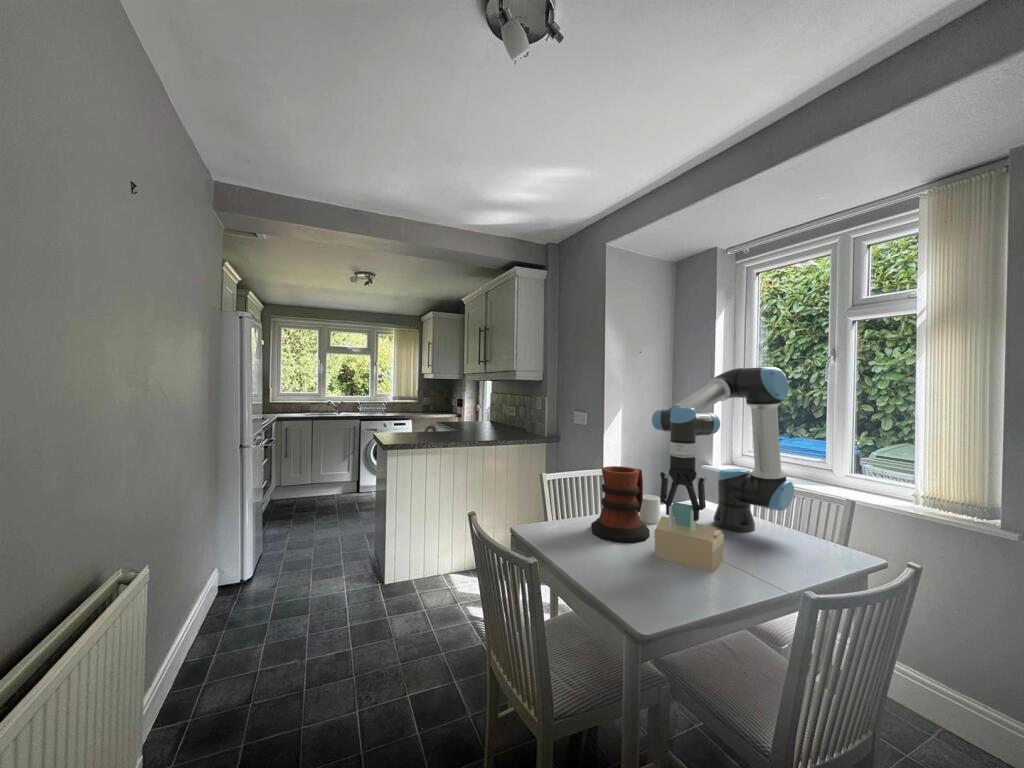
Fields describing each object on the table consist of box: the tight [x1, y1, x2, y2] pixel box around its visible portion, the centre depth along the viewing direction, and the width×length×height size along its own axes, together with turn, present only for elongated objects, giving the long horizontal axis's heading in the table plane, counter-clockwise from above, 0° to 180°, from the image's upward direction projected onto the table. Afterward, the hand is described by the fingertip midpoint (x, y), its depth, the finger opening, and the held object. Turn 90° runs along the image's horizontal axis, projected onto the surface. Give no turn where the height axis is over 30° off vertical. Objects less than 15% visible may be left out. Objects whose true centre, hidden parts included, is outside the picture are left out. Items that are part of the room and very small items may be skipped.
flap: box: [655, 501, 717, 542], centre depth 135 cm, size 6×17×9 cm, turn 50°
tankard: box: [590, 465, 651, 544], centre depth 165 cm, size 22×25×25 cm
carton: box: [653, 529, 725, 574], centre depth 140 cm, size 12×18×10 cm, turn 50°
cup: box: [638, 494, 661, 525], centre depth 180 cm, size 8×12×10 cm
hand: (682, 527), depth 135 cm, fingers closed on flap, 6 cm apart
